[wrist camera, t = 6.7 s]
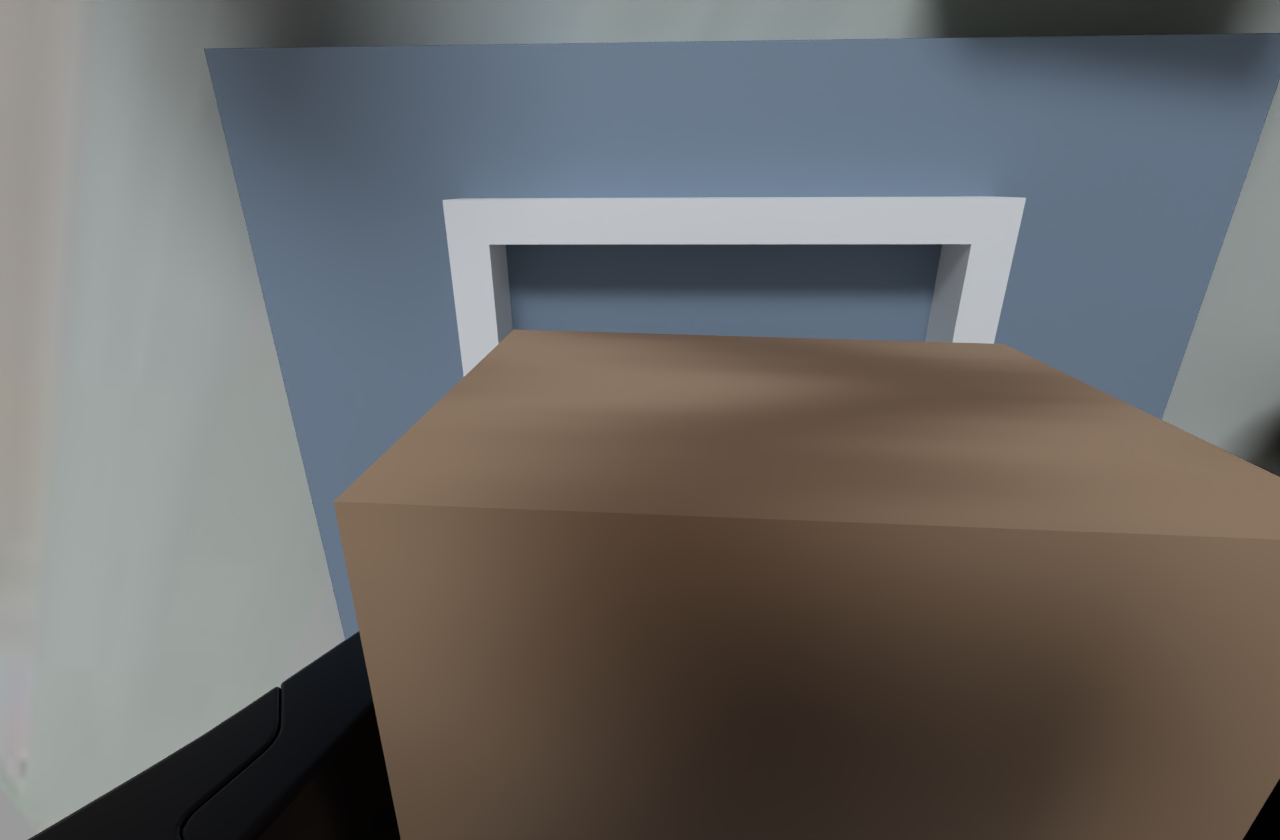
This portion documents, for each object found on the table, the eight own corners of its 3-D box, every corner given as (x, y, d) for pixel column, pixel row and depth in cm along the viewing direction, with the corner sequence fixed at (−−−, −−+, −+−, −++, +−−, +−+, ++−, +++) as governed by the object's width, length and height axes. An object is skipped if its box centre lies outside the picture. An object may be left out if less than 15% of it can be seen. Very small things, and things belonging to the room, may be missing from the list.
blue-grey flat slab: (1244, 45, 11) (1370, 14, 9) (1040, 679, 17) (1090, 744, 15) (239, 59, 12) (154, 34, 10) (372, 660, 18) (334, 720, 16)
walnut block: (1004, 344, 8) (1423, 545, 4) (909, 711, 11) (1085, 1097, 6) (513, 329, 9) (333, 501, 4) (536, 692, 11) (443, 1052, 7)
